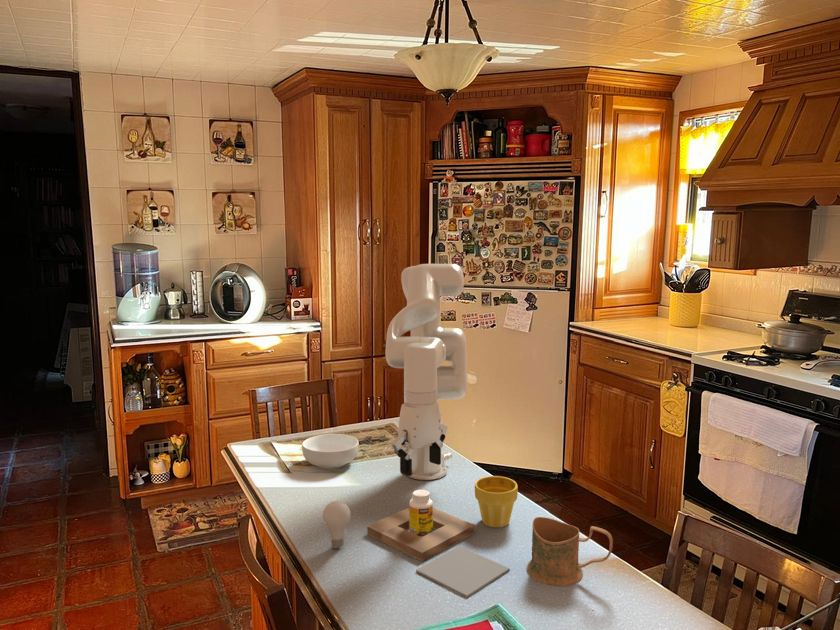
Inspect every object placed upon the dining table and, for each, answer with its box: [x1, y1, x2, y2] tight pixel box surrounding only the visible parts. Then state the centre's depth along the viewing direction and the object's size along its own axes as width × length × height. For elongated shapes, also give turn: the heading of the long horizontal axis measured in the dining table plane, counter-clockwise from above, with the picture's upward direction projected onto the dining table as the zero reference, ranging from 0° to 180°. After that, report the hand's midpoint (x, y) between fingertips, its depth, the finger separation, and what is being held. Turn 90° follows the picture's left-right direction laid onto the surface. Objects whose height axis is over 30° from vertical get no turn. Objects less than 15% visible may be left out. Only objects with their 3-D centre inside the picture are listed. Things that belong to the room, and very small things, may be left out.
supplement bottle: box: [408, 489, 434, 537], centre depth 159 cm, size 6×6×10 cm
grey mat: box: [415, 545, 510, 598], centre depth 143 cm, size 14×14×1 cm
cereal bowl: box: [301, 433, 360, 470], centre depth 202 cm, size 17×17×7 cm
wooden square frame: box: [366, 507, 476, 562], centre depth 159 cm, size 18×18×2 cm
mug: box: [526, 516, 614, 587], centre depth 140 cm, size 12×18×12 cm, turn 58°
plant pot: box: [474, 475, 519, 528], centre depth 165 cm, size 10×10×10 cm
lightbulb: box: [322, 500, 351, 550], centre depth 152 cm, size 6×6×11 cm
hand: (420, 468), depth 157 cm, fingers open, 9 cm apart
